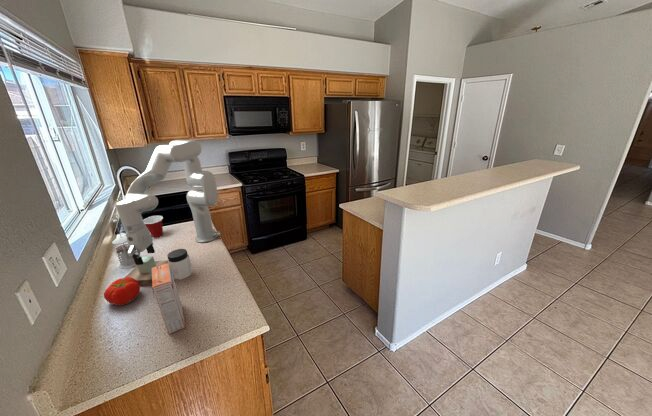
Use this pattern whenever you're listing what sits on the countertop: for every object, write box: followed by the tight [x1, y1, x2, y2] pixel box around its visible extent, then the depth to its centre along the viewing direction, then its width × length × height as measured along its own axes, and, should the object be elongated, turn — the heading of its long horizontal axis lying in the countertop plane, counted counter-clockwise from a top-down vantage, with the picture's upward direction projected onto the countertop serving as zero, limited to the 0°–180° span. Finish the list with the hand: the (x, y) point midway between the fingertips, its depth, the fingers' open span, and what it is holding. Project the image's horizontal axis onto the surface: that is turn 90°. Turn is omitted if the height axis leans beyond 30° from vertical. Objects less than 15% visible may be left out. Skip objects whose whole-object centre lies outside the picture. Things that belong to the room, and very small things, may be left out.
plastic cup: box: [143, 215, 164, 239], centre depth 164 cm, size 11×11×12 cm
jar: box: [167, 248, 193, 280], centre depth 124 cm, size 9×8×12 cm
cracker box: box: [151, 263, 186, 335], centre depth 95 cm, size 14×6×21 cm, turn 32°
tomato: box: [103, 276, 141, 306], centre depth 109 cm, size 13×12×8 cm
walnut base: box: [123, 259, 169, 287], centre depth 126 cm, size 16×16×3 cm
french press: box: [111, 219, 137, 269], centre depth 132 cm, size 10×12×25 cm
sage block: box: [136, 256, 156, 274], centre depth 124 cm, size 5×5×6 cm
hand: (145, 258), depth 124 cm, fingers open, 9 cm apart
